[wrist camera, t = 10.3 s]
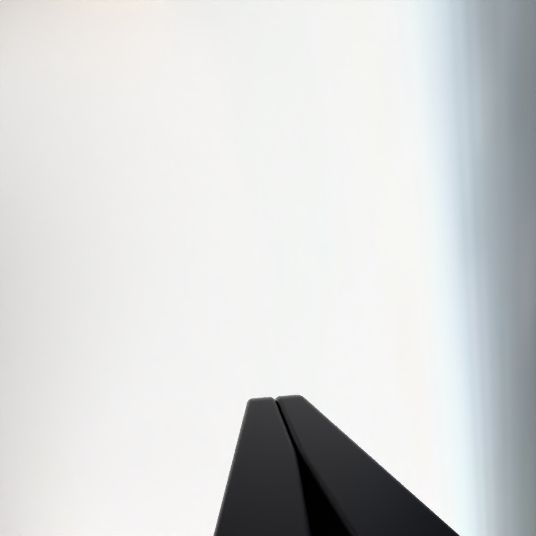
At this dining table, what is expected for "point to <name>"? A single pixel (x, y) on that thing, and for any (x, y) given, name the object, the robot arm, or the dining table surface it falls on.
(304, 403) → the robot arm
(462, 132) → the dining table surface
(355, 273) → the dining table surface
